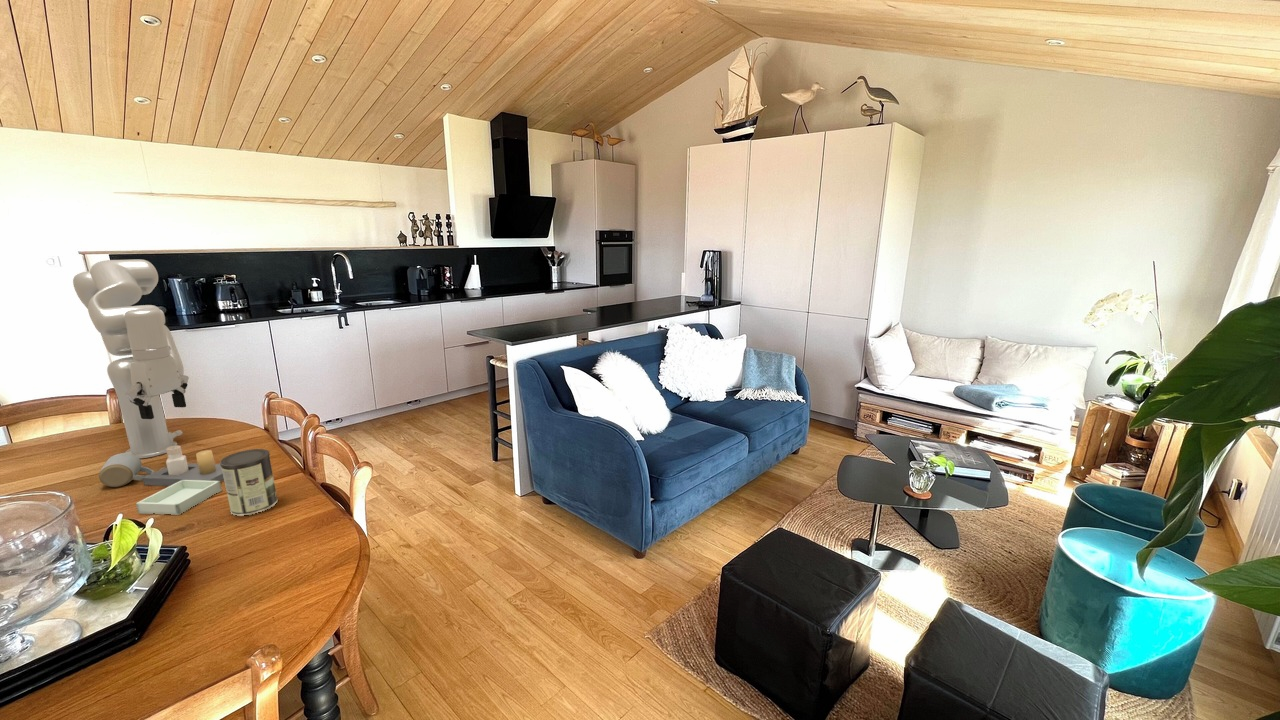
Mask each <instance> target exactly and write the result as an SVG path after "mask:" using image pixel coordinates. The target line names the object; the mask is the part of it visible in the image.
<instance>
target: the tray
mask: <svg viewBox="0 0 1280 720" xmlns="http://www.w3.org/2000/svg"><path fill="white" fill-rule="evenodd" d="M221 483H222V482H220V481H206V480H181V481H179V482H177V483H175V484H173V485H171V486H166V487H165V488H163V489H161V490H159V491H156V493H153V494H151V495H150V496H147V497H145V498H143V499H141V500H140V501H138V502H136V503H135V506H136V509H137V514H138V515H139V514H141V515H142V514H144V515H145V514H146V515H164V514H171V515H170V516H180V515H181V513H182V514H184V513H186V512H187V511H189V510H191V509H192V508H194V507H196V506H198V505H199V504H201V503H203V502H205V501H206V500H208V499H210V498H212V497H213V496H215V495H217V494H219V493H220V492H222V491H223V488H222V485H221ZM216 493H217V494H216ZM214 494H215V495H214ZM212 495H213V496H212ZM211 496H212V497H211ZM209 497H210V498H209ZM207 498H208V499H207ZM204 500H205V501H204ZM202 501H203V502H202ZM200 502H201V503H200ZM198 503H199V504H198ZM197 504H198V505H197ZM195 505H196V506H195ZM193 506H194V507H193ZM191 507H192V508H191ZM190 508H191V509H190ZM188 509H189V510H188ZM186 510H187V511H186ZM183 512H184V513H183ZM153 513H155V514H153Z"/></svg>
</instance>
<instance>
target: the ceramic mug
mask: <svg viewBox="0 0 1280 720" xmlns="http://www.w3.org/2000/svg"><path fill="white" fill-rule="evenodd" d="M139 472H140V473H145V474H146V475H139V474H138V473H139ZM154 472H155V471H154V470H153V469H152V468H149V467H147V466H143V463H142V461H141V458H140V459H139V458H138V457H137V456H135V455H133V454H129V453H125V452H121V453H117V454H114V455H112V456H110V457H109V458H108V459H107V460H106V462H105V463H104V465H103V466H102V468H101V469H100V470H99V475H98V479H99V481H100V483H102V484H103V485H104V486H106V487H110V488H121V487H123V486H125V485H128V483H130V482H131V481H132V480H133V481H143V479H142V478H143V477H145V476H148V475H150V474H152V473H154Z"/></svg>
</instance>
